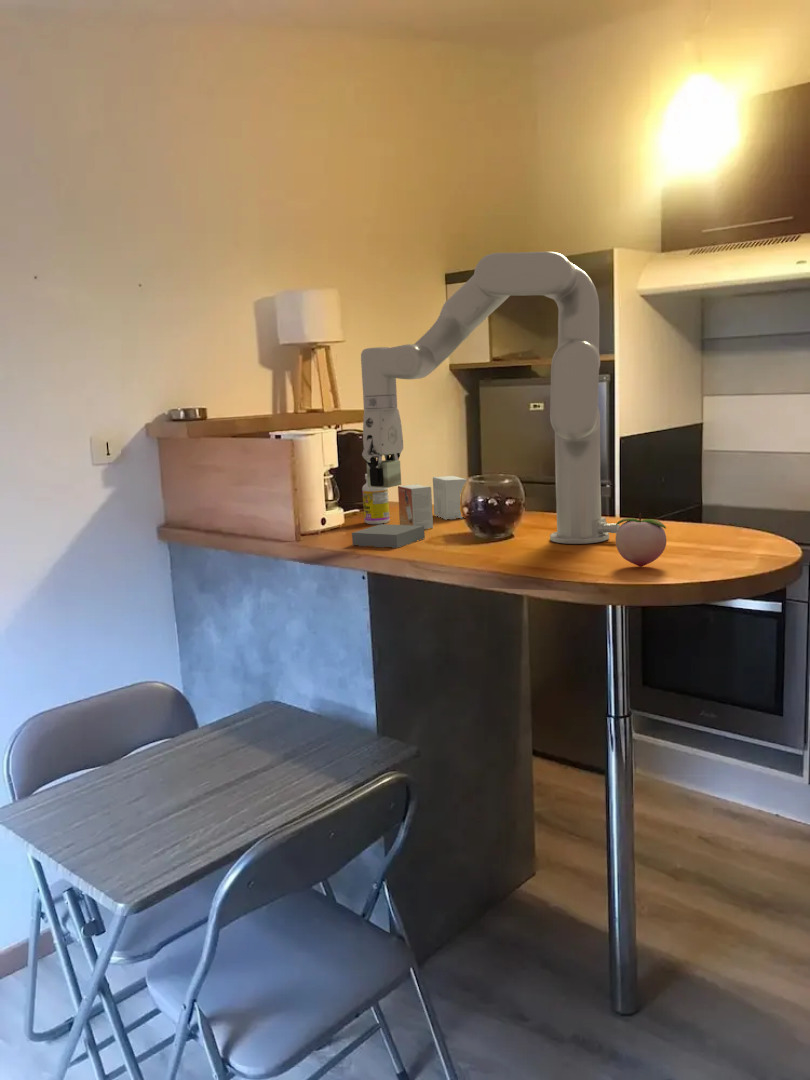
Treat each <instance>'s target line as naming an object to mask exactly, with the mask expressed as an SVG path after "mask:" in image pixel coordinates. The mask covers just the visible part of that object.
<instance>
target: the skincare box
mask: <svg viewBox="0 0 810 1080" xmlns="http://www.w3.org/2000/svg"><path fill="white" fill-rule="evenodd" d="M467 480H468V479H467V478H463V477H459V476H456V475H446V476H432V486H433V487H432V491H433V515H436V516H435V517H437V516H438V517H437V518H440V517H441V518H440V519H442V518H443V519H442V520H445V521H448V520H447V519H450V520H457V519H456V518H460V519H463V518H462V516H461V511H460V494H461V491H462V488H463V486H464V484H465V483H466V481H467ZM467 482H468V481H467Z"/></svg>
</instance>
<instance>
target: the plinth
mask: <svg viewBox="0 0 810 1080" xmlns="http://www.w3.org/2000/svg"><path fill="white" fill-rule="evenodd" d="M351 538H352V539H351V541H352V546H353V545H359V546H358V547H366V546H374V547H373V548H384V547H392V548H391V549H399V548H401V546H402V547H405V546H408V545H411V544H413V543H412V542H414V543H416V542H415V541H417V540H419V541H421V540H420V539H422V540H424V539H423V538H425V539H426V535H425V530H424V526H415V525H400V524H389V523H388V524H387V523H384V524H375V525H372V526H370V527H367V528H366V527H365V528H364V529H360V530H357V531H354V532H351ZM417 542H418V541H417ZM410 543H411V544H410ZM407 544H408V545H407ZM404 545H405V546H404ZM398 547H399V548H398Z"/></svg>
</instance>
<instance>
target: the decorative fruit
mask: <svg viewBox="0 0 810 1080" xmlns="http://www.w3.org/2000/svg"><path fill="white" fill-rule="evenodd" d="M638 515H639V518H635V517H630V518H622V519H620V520H619V521H617V522H616V523H615V524H616V525H618V524H619V525H620V524H621V525H620V527H619V528H618V530H617V533H615V534H616V535H615V546H616V550H617V552H618V553H619V555H620V556H621V558H622V559H624V560H625V561H627V562H630V563H631V564H633V565H634V566H637V567H639V568H642V567H644V566H647V565H650V564H651V563H652V562H654V561H656V560H657V559H659V557H660V556H661V555H662V554H663V552H664V551H665V549H666V546H667V543H668V542H667V541H668V540H667V535H666V531H665V529H667V527H666V525H665V524H664V523H662V521H660V520H658V519H654V518H645V519H642V513H639V514H638Z"/></svg>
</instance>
